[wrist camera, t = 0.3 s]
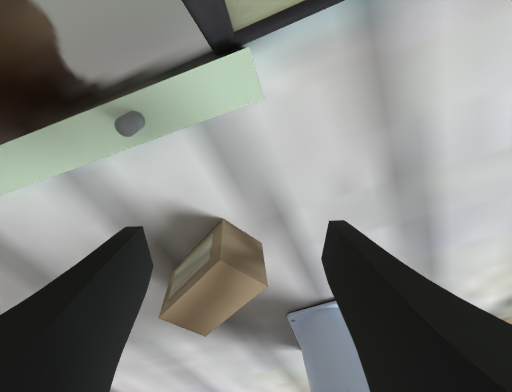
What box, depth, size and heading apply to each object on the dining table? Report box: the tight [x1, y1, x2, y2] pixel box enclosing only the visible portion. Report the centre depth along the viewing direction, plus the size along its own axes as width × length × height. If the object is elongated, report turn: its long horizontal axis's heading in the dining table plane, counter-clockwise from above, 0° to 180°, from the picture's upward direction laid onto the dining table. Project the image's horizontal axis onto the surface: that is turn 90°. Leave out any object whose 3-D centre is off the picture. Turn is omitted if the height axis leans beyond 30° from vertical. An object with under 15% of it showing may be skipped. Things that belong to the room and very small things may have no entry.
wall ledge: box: [0, 47, 264, 196], centre depth 15 cm, size 2×26×5 cm, turn 108°
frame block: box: [159, 219, 268, 336], centre depth 21 cm, size 5×8×5 cm, turn 138°
